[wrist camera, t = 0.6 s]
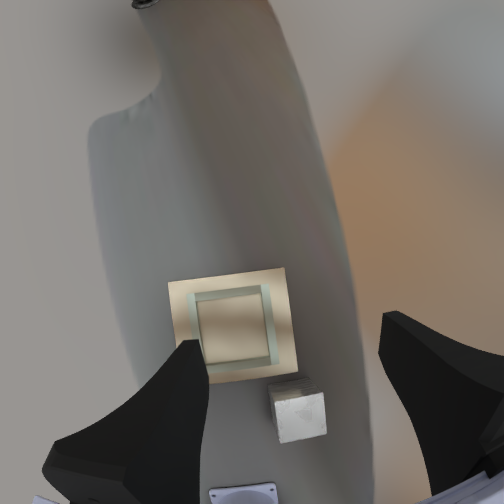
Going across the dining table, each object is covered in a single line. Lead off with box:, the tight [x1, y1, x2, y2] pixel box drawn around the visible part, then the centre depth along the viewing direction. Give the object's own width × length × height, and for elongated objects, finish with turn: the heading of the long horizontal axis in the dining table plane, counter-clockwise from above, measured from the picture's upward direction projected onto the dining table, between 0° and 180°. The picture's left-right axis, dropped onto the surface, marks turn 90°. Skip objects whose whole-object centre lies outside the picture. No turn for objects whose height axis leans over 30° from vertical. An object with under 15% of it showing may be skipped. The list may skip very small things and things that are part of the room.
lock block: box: [268, 378, 327, 443], centre depth 28 cm, size 4×4×6 cm
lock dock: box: [168, 268, 298, 384], centre depth 30 cm, size 11×12×2 cm
